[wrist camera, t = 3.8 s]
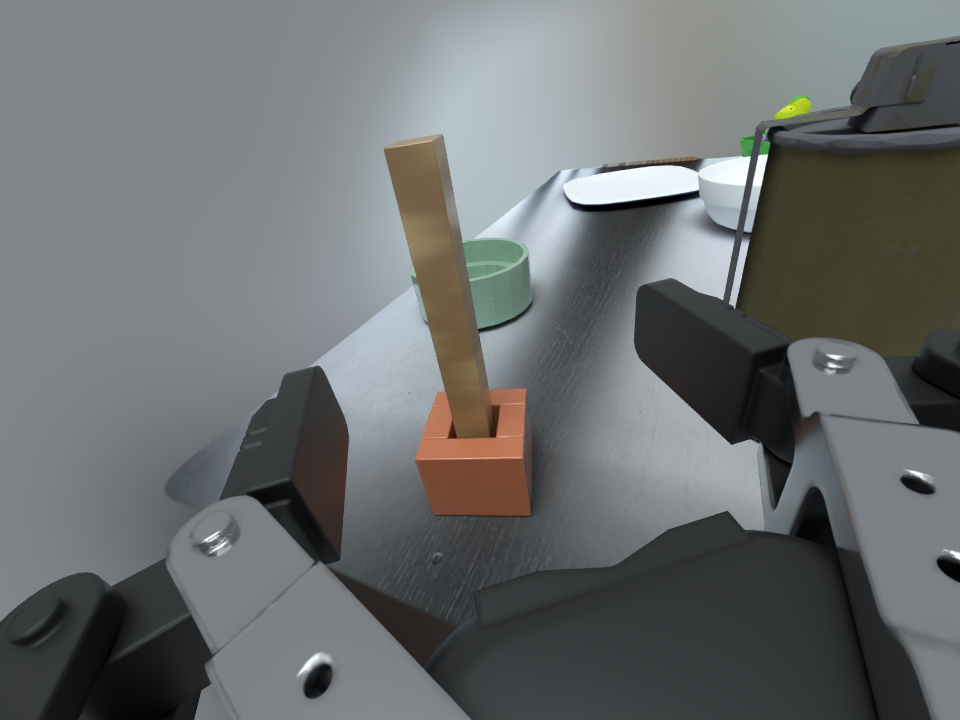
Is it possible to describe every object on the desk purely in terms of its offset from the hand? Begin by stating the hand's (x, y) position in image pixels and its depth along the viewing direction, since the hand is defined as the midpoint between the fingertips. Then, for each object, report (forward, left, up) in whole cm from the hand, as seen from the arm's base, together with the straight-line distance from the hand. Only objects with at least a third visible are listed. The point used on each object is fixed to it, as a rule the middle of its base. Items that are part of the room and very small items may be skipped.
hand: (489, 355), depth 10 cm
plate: (+18, +80, -16) cm, 84 cm away
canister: (+18, +15, -16) cm, 28 cm away
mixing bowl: (-7, +35, -16) cm, 39 cm away
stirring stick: (-3, +9, -16) cm, 19 cm away
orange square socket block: (-3, +9, -16) cm, 19 cm away
